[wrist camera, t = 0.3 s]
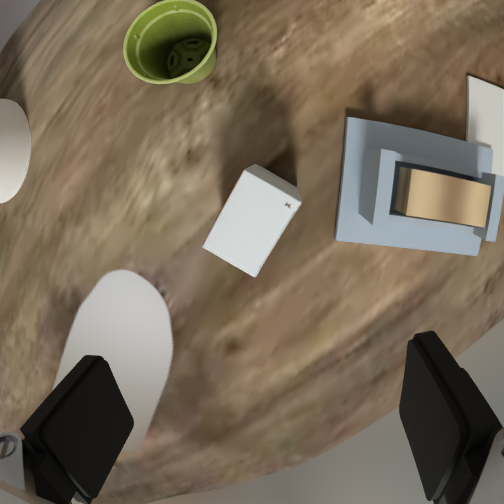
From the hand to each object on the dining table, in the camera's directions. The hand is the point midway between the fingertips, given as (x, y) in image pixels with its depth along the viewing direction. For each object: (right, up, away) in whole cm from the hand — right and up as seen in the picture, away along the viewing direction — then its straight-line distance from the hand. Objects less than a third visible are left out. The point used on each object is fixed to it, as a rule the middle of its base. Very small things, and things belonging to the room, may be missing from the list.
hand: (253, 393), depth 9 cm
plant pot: (-7, +27, +24) cm, 36 cm away
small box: (+1, +10, +28) cm, 30 cm away
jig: (+20, +12, +26) cm, 34 cm away
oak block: (+20, +10, +22) cm, 31 cm away
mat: (+34, +20, +22) cm, 45 cm away
